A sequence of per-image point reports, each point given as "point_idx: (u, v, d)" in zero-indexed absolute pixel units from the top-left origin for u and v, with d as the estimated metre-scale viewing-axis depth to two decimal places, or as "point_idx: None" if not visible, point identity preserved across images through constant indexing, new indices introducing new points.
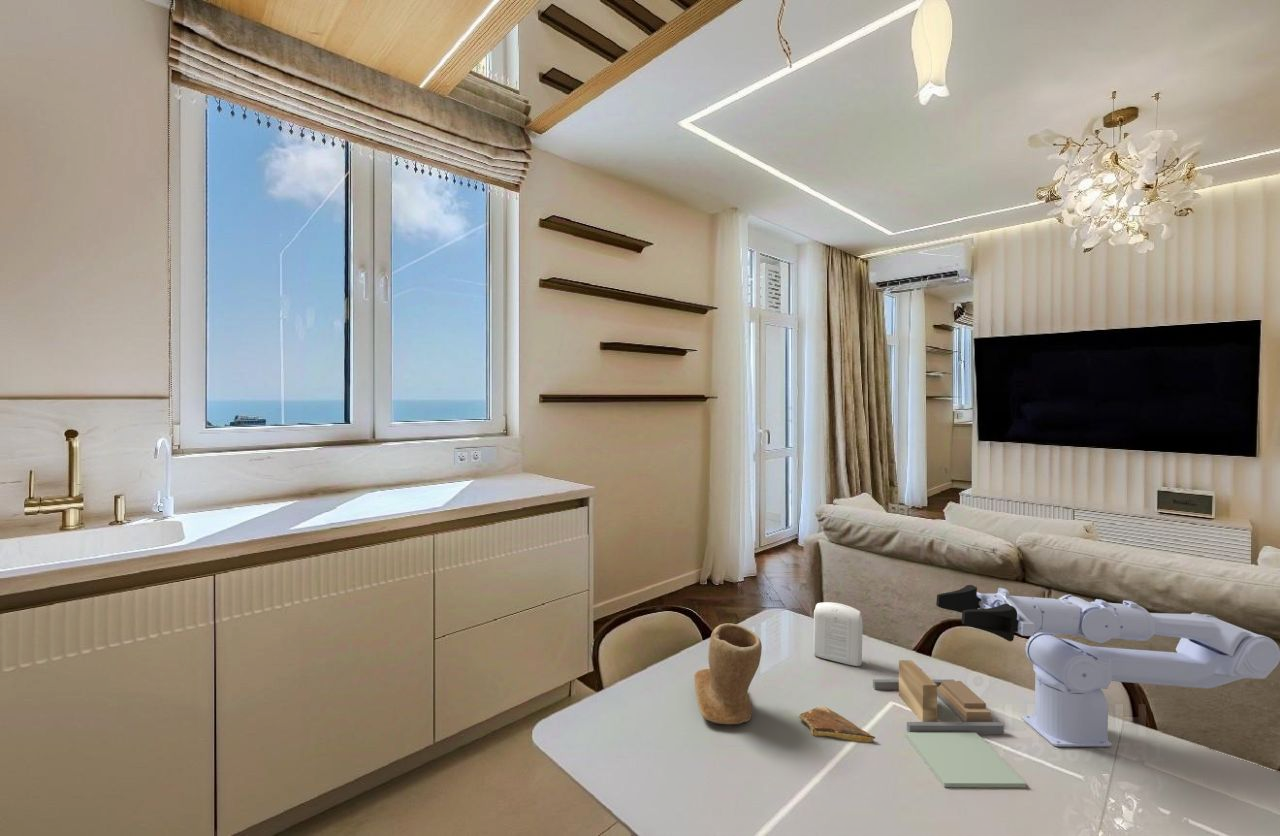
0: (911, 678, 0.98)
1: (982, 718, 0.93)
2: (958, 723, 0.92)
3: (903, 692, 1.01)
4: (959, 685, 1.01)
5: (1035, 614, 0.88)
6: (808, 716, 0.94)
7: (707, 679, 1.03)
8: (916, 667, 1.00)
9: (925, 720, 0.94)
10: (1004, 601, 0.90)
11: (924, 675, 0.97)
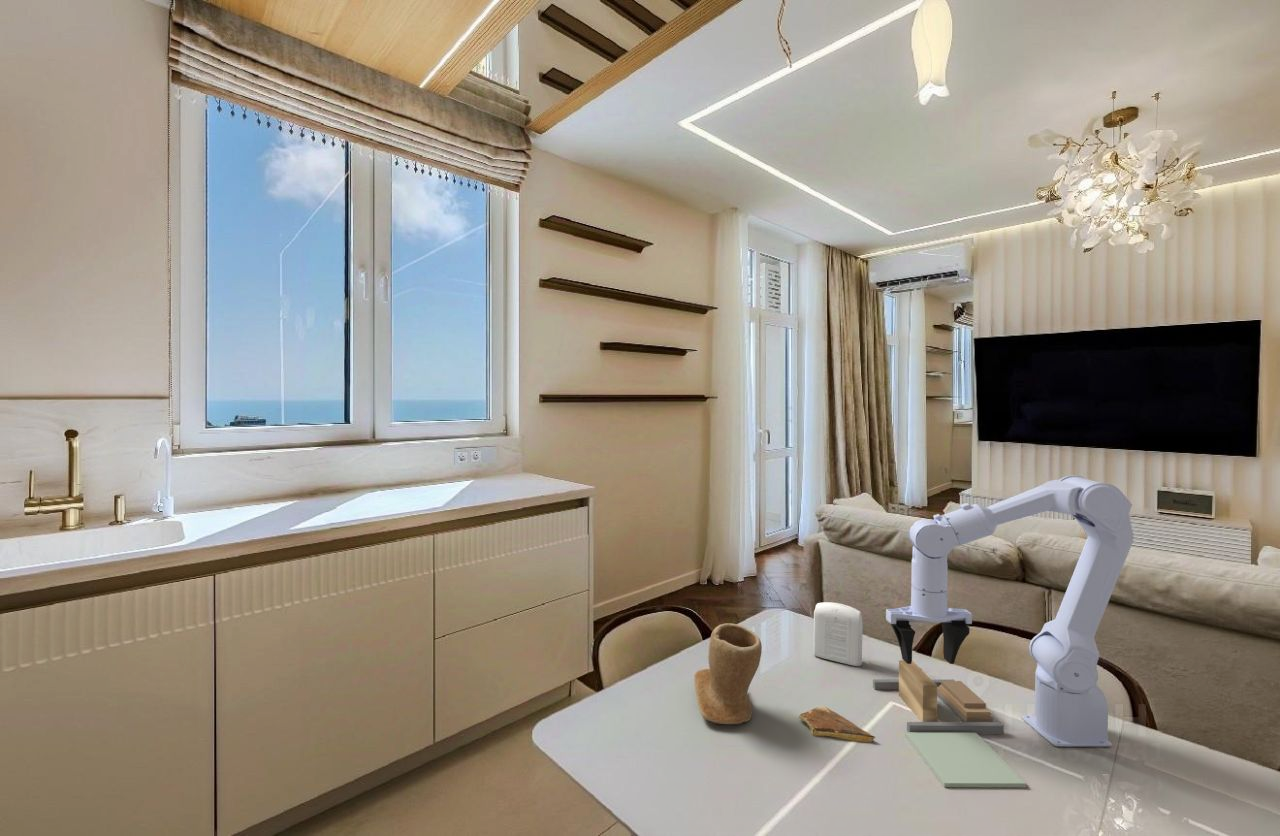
0: (912, 678, 0.98)
1: (982, 718, 0.93)
2: (958, 723, 0.92)
3: (903, 692, 1.01)
4: (959, 685, 1.01)
5: (911, 591, 0.97)
6: (808, 716, 0.94)
7: (707, 679, 1.03)
8: (916, 667, 1.00)
9: (925, 720, 0.94)
10: None
11: (924, 675, 0.97)
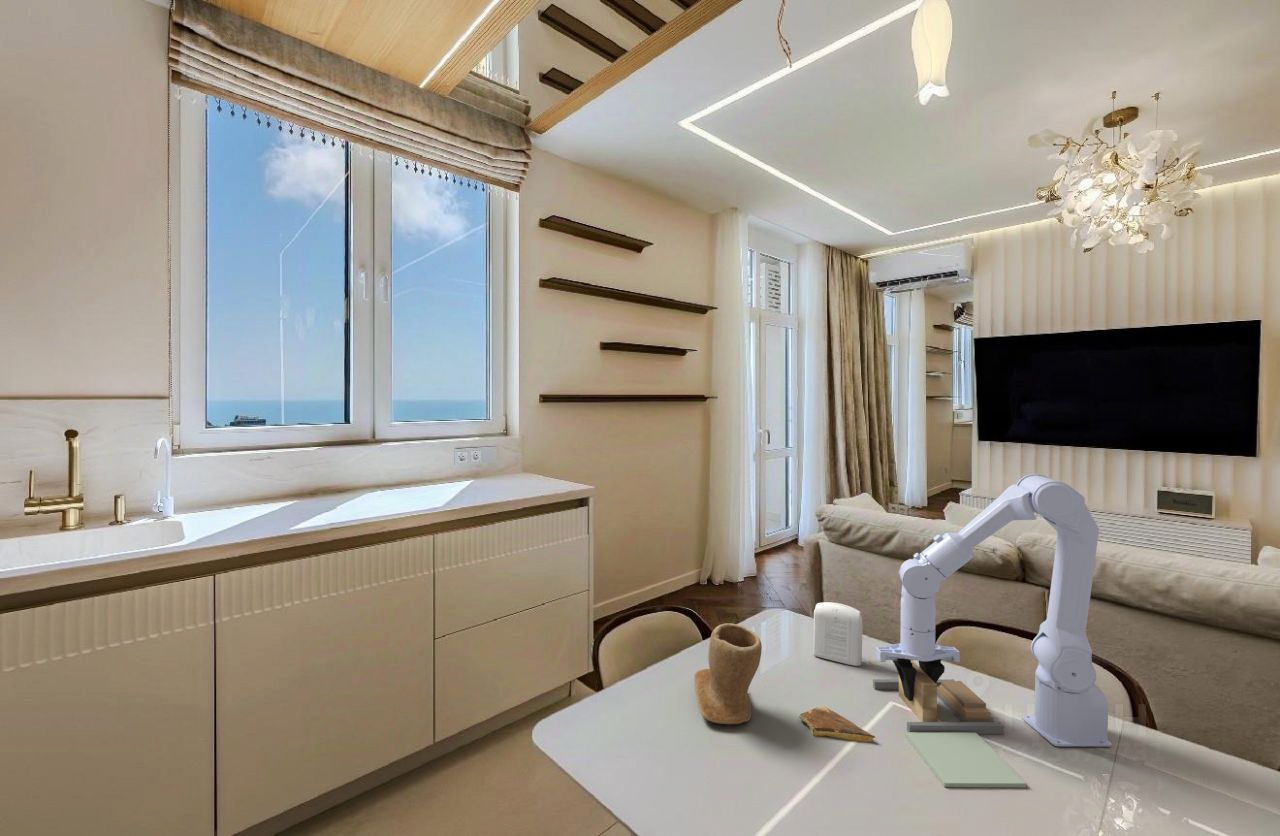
0: None
1: (982, 718, 0.93)
2: (958, 723, 0.92)
3: (903, 692, 1.01)
4: (959, 685, 1.01)
5: (901, 629, 0.99)
6: (808, 716, 0.94)
7: (707, 679, 1.03)
8: (916, 667, 1.00)
9: (925, 720, 0.94)
10: None
11: (924, 675, 0.97)
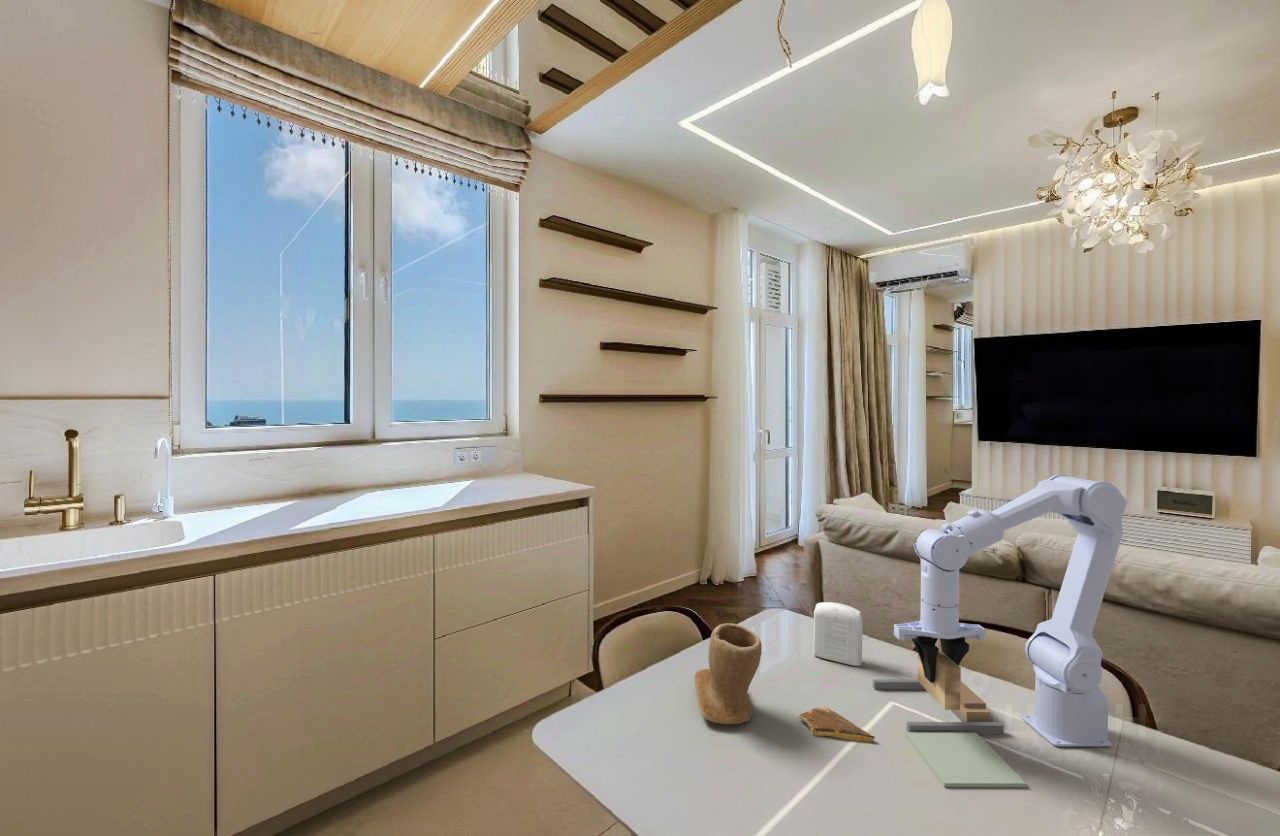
0: None
1: (982, 718, 0.93)
2: (958, 723, 0.92)
3: (923, 676, 0.94)
4: None
5: (921, 605, 0.92)
6: (808, 716, 0.94)
7: (707, 679, 1.03)
8: None
9: (947, 705, 0.87)
10: None
11: (946, 657, 0.90)
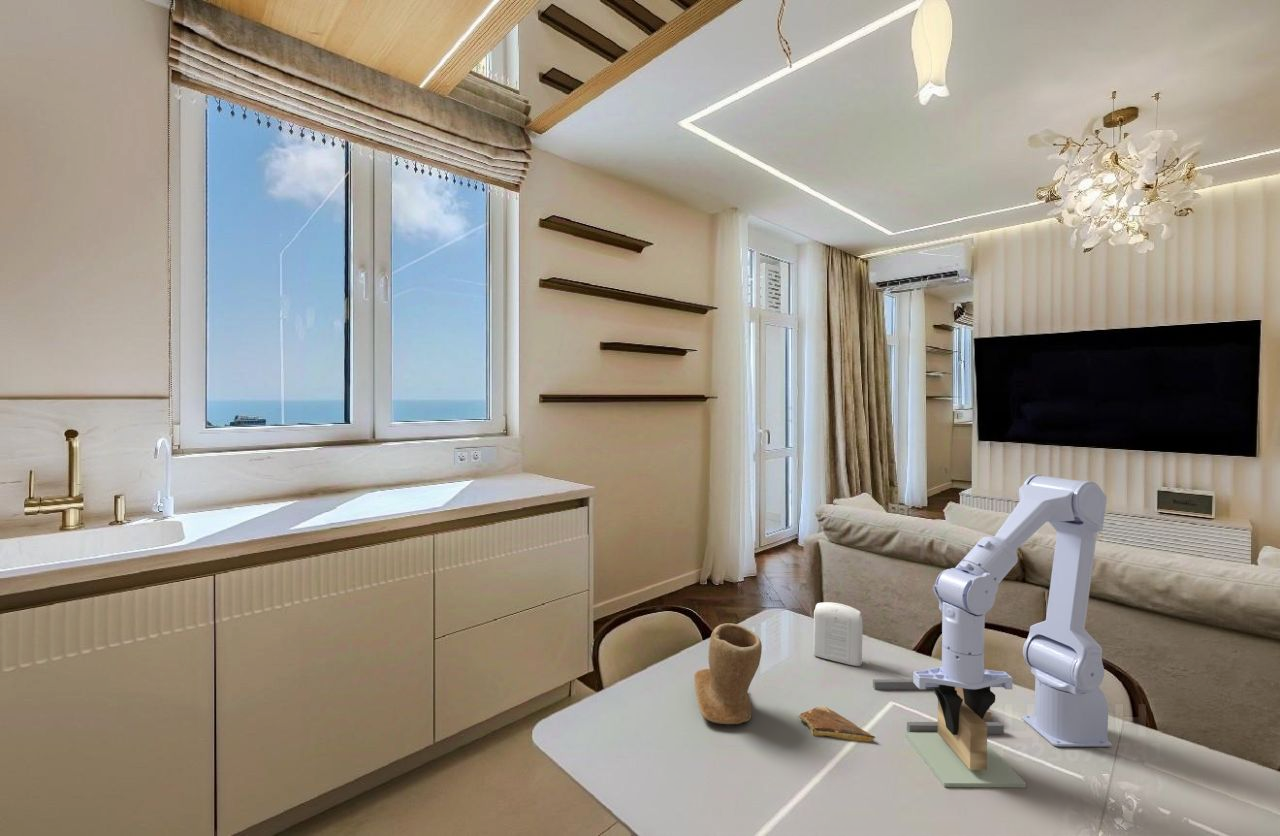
0: None
1: None
2: None
3: (944, 729, 0.87)
4: None
5: (942, 650, 0.85)
6: (808, 716, 0.94)
7: (707, 679, 1.03)
8: None
9: (973, 765, 0.80)
10: None
11: (970, 711, 0.83)
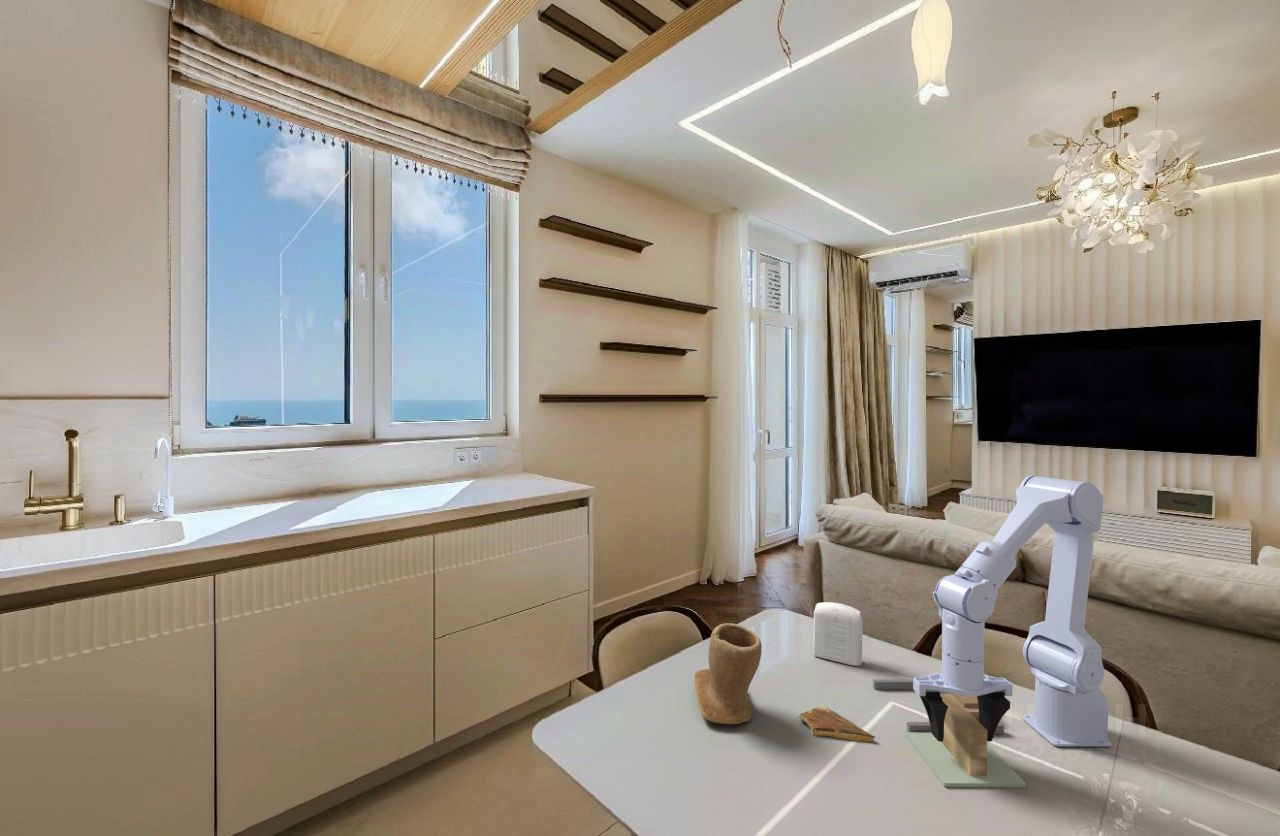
0: (955, 720, 0.84)
1: None
2: None
3: None
4: None
5: (942, 657, 0.85)
6: (808, 716, 0.94)
7: (707, 679, 1.03)
8: (959, 706, 0.86)
9: (973, 771, 0.80)
10: None
11: (970, 717, 0.83)
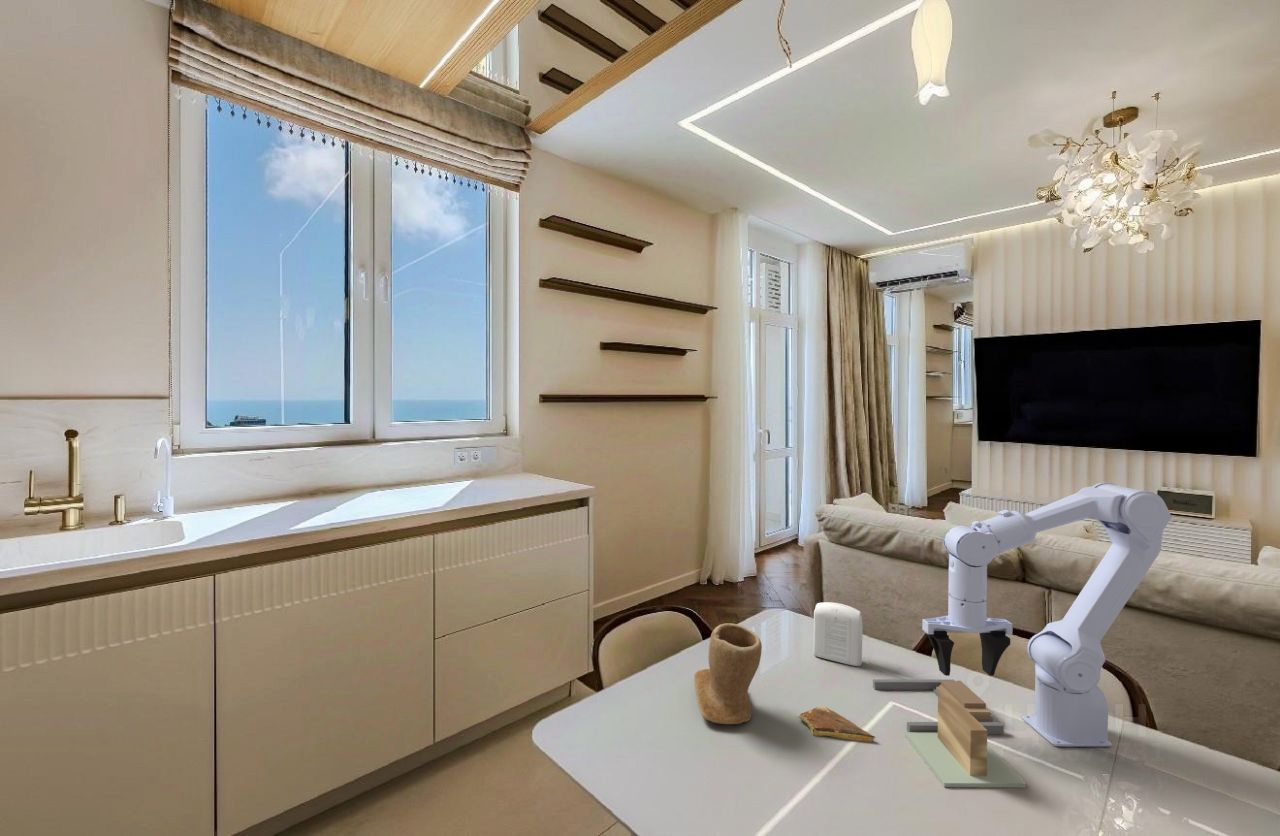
0: (955, 720, 0.84)
1: (982, 718, 0.93)
2: None
3: (943, 734, 0.87)
4: (959, 685, 1.01)
5: (949, 600, 0.94)
6: (808, 716, 0.94)
7: (707, 679, 1.03)
8: (959, 706, 0.86)
9: (973, 771, 0.80)
10: None
11: (970, 717, 0.83)
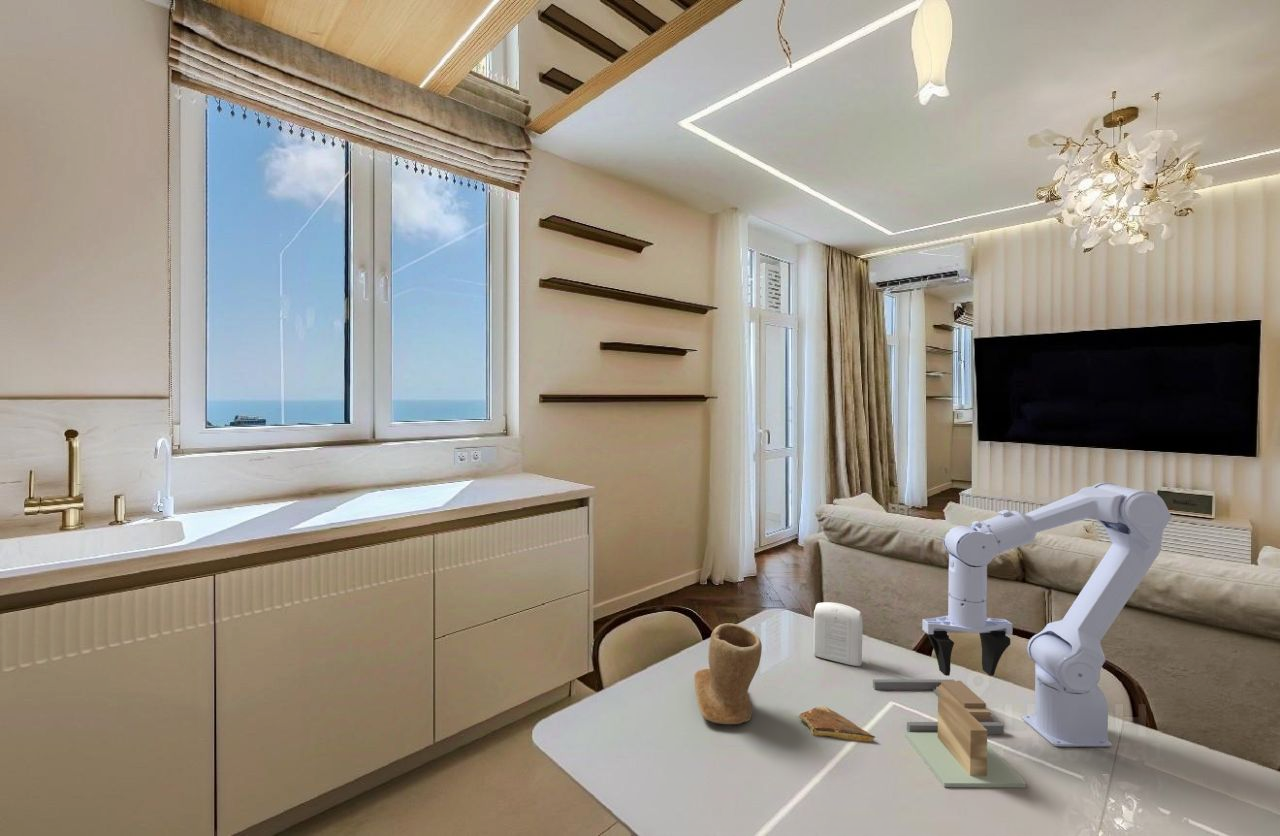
0: (955, 720, 0.84)
1: (982, 718, 0.93)
2: None
3: (943, 734, 0.87)
4: (959, 685, 1.01)
5: (949, 600, 0.94)
6: (808, 716, 0.94)
7: (707, 679, 1.03)
8: (959, 706, 0.86)
9: (973, 771, 0.80)
10: None
11: (970, 717, 0.83)
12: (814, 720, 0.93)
